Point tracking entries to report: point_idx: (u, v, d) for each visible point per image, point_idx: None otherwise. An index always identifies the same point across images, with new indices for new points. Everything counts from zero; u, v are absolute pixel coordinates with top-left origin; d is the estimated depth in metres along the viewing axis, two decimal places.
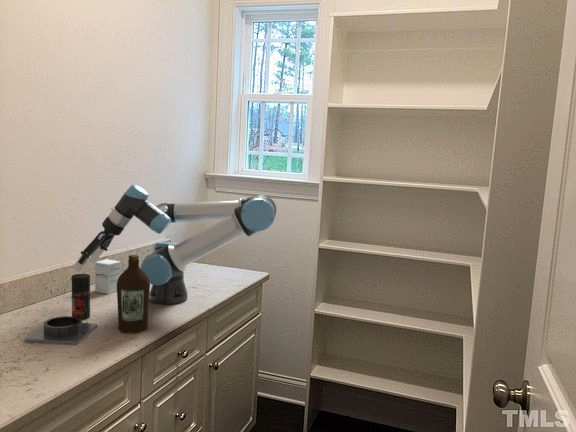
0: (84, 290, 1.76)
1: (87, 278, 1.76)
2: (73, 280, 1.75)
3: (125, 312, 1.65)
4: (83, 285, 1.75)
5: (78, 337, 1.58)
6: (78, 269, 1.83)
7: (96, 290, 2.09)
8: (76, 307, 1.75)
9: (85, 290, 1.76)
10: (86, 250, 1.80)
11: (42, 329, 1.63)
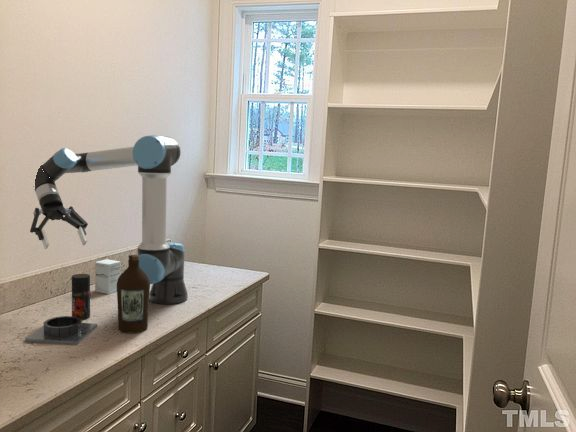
0: (84, 290, 1.76)
1: (87, 278, 1.76)
2: (73, 280, 1.75)
3: (125, 312, 1.65)
4: (83, 285, 1.75)
5: (78, 337, 1.58)
6: (45, 243, 1.78)
7: (96, 290, 2.09)
8: (76, 307, 1.75)
9: (85, 290, 1.76)
10: (31, 226, 1.80)
11: (42, 329, 1.63)
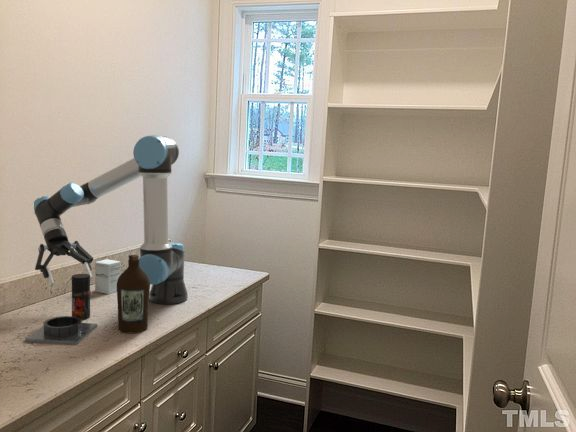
0: (84, 290, 1.76)
1: (87, 278, 1.76)
2: (73, 280, 1.75)
3: (125, 312, 1.65)
4: (83, 285, 1.75)
5: (78, 337, 1.58)
6: (51, 281, 1.75)
7: (96, 290, 2.09)
8: (76, 307, 1.75)
9: (85, 290, 1.76)
10: (36, 264, 1.77)
11: (42, 329, 1.63)
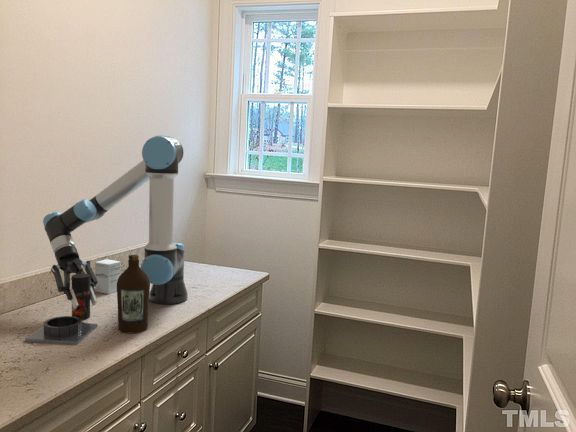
0: (84, 290, 1.76)
1: (87, 278, 1.76)
2: (73, 280, 1.75)
3: (125, 312, 1.65)
4: (83, 285, 1.75)
5: (78, 337, 1.58)
6: (75, 303, 1.73)
7: (96, 290, 2.09)
8: None
9: (85, 290, 1.76)
10: (58, 286, 1.75)
11: (42, 329, 1.63)
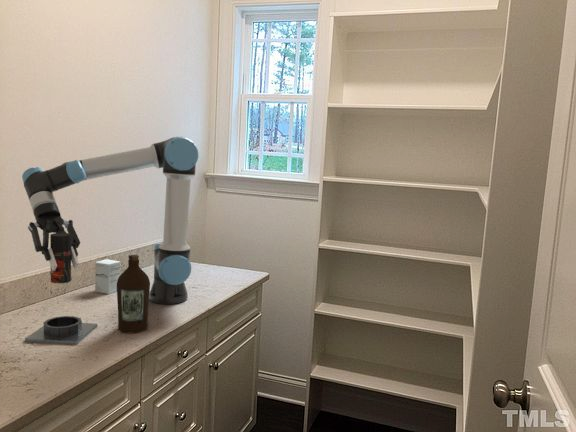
0: (64, 250, 1.58)
1: (67, 237, 1.59)
2: (52, 239, 1.57)
3: (125, 312, 1.65)
4: (63, 244, 1.58)
5: (78, 337, 1.58)
6: (53, 264, 1.56)
7: (96, 290, 2.09)
8: (55, 269, 1.58)
9: (65, 250, 1.59)
10: (35, 245, 1.58)
11: (42, 329, 1.63)
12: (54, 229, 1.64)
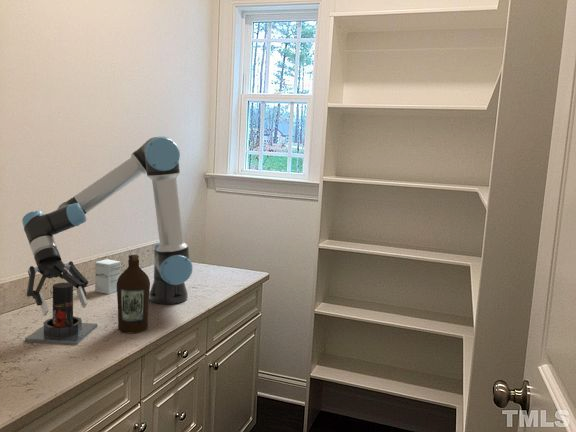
0: (66, 301, 1.60)
1: (70, 288, 1.60)
2: (54, 290, 1.59)
3: (125, 312, 1.65)
4: (65, 295, 1.59)
5: (78, 337, 1.58)
6: (44, 309, 1.55)
7: (96, 290, 2.09)
8: (57, 319, 1.59)
9: (67, 301, 1.60)
10: (27, 289, 1.57)
11: (42, 329, 1.63)
12: (55, 274, 1.65)
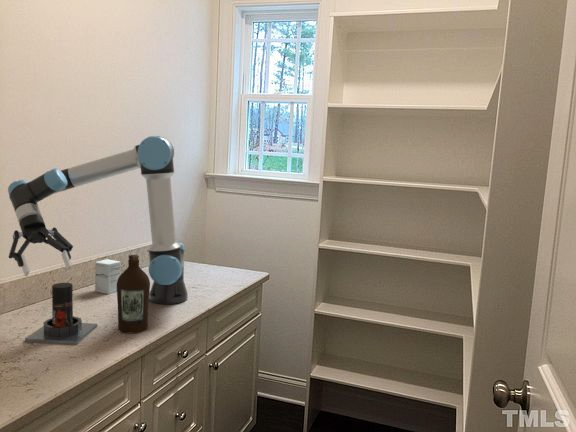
0: (66, 301, 1.60)
1: (69, 288, 1.60)
2: (53, 290, 1.59)
3: (125, 312, 1.65)
4: (65, 295, 1.59)
5: (78, 337, 1.58)
6: (25, 270, 1.62)
7: (96, 290, 2.09)
8: (57, 320, 1.60)
9: (67, 301, 1.60)
10: (10, 251, 1.64)
11: (42, 329, 1.63)
12: (39, 239, 1.72)
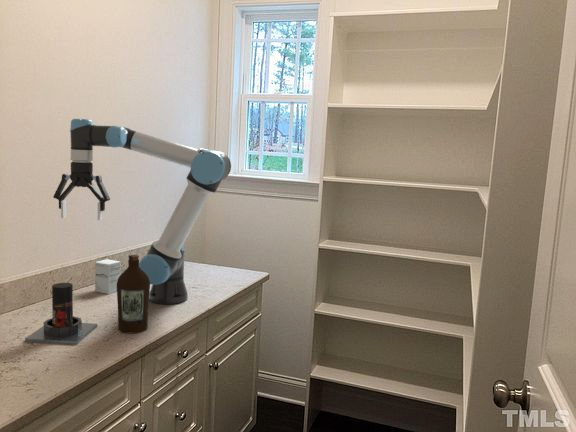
0: (66, 301, 1.60)
1: (69, 288, 1.60)
2: (54, 290, 1.59)
3: (125, 312, 1.65)
4: (65, 295, 1.59)
5: (78, 337, 1.58)
6: None
7: (96, 290, 2.09)
8: (57, 320, 1.60)
9: (67, 301, 1.60)
10: None
11: (42, 329, 1.63)
12: (81, 186, 1.87)
